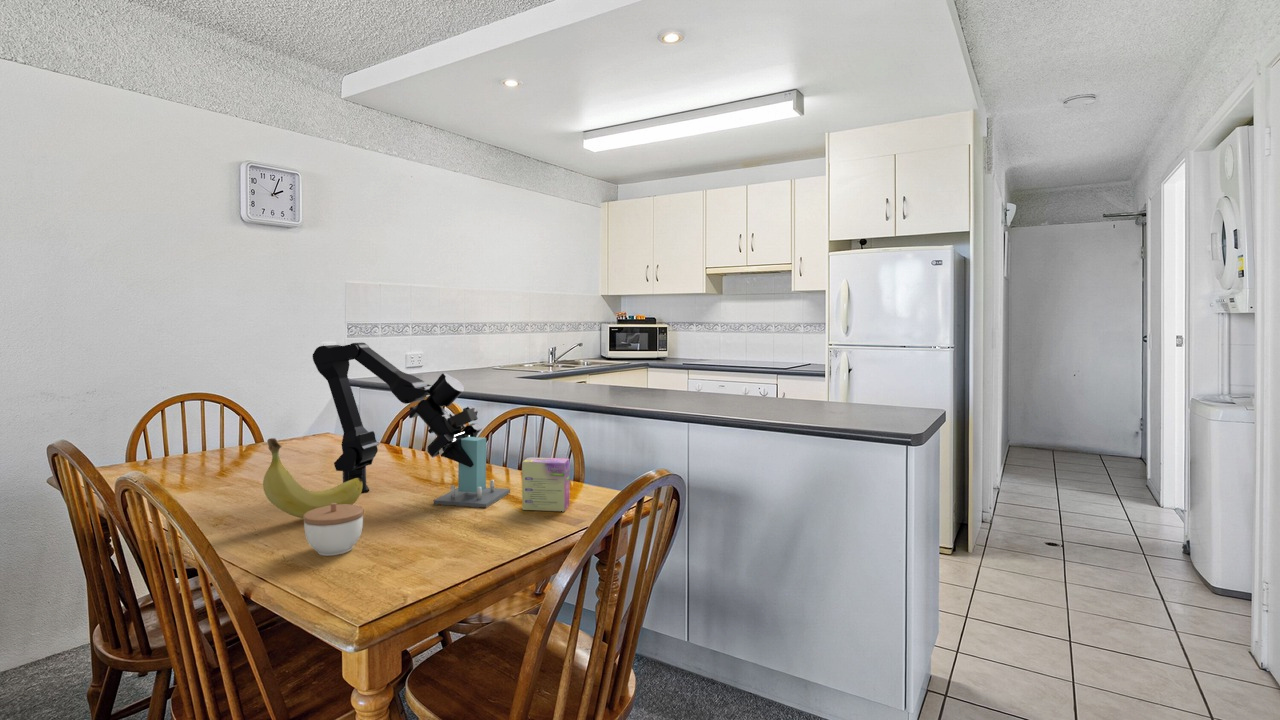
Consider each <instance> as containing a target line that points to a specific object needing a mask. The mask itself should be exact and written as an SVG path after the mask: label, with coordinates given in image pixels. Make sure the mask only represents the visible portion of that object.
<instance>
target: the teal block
mask: <svg viewBox="0 0 1280 720" xmlns="http://www.w3.org/2000/svg"><path fill="white" fill-rule="evenodd" d="M461 446H462V448H463V449H464V451H465V452H466V453H467V455H468V456H469V458H470V459H471V460H472V462H473V464H474V465H473V466H472V467H468V466H466V465H463V464H461V463H459V462H458V481H457V482H458V483H457V484H458V486H457V488H458V491H462V492H474V493H477V487H481V489H482V490H483V489H485V488H487V437H483V436H482V437H479V436H476V437H466V438H463V439H461Z"/></svg>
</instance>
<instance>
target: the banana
mask: <svg viewBox="0 0 1280 720" xmlns="http://www.w3.org/2000/svg"><path fill="white" fill-rule="evenodd" d="M267 445H268V450H269V451H270V452H271V455H272V456H271V457H272V458H271V463H270V464H269V467H268V469H267V470H266V472H265V474H264V477H263V482H262V487H263V492H264V494H265V496H266V498H267V500H268V501H269V502H270V504H272V505H273V506H275V508H277V509H279V510H281V511H282V512H283V513H286V514H288V515H290V516H292V517H295V518H299V519H303V516H304V514H305V513H306V512H308V511H310V510H313V509H316V508H320V507H324V506H330V505H331V503H337V505H340V504H351V505H355V503H357V501H358V499H359V498H360V496H361V493H363V492H362V487H363V482H362V480H361V479H360V478H354V479H352V480H349V481H347V482H344V483H343V482H342V483H340V484H338V485H337V486H334V487H332V488H330V489H329V488H328V489H325V490H321V491H320V490H319V491H313V490H312V491H311V490H309V489H307V488H305V487H303V486H302V485H301V484H299V482H298V481H297V480H296V479H295V477H293V475H292V474H291V473H290V471H289V470H288V469H287V468H286V466H284V464H283V463H282V461H281V458H280V449H281V448H282V445H281V444H280V443H279V442H278V441H277V438H275V437H274V438H273V437H272V438H268V439H267Z"/></svg>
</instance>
